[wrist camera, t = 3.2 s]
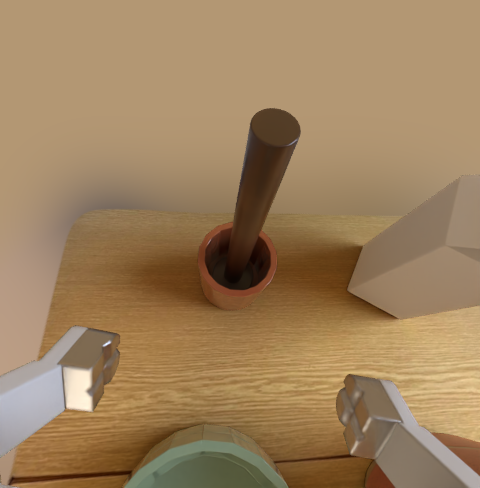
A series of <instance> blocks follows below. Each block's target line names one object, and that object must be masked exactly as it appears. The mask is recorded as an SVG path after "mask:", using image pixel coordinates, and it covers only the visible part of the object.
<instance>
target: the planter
mask: <svg viewBox="0 0 480 488" xmlns="http://www.w3.org/2000/svg"><path fill="white" fill-rule="evenodd" d="M431 434H432V435H433V436H435V437H436V438H437V439H438V440H439V441H440V442H441V443H443V444H444V445H445V446H446V447H447V448H448V449H449V450H451V451H452V452H453V453H454V454H455V455H456V456H457V457H459V458H460V459H461V460H462V461H463V462H464V463H465V464H467V465H468V466H469V467H470V468H471V469H472V470H473V471H475V472H476V473H477V474H478V475H479V476H480V442H476V441H472V440H469V439H465V438H462V437H458V436H454V435H449V434H443V433H431ZM365 488H395V487H394V485H393V484H392V483H391V481H390V480H389V479H388V477H387V476H386V475H385V473H384V472H383V471H382V469H381V468H380V467H379V465H378V464H377V463H376V460H374V461H373V462H372V463H371V465H370V466H369V468H368V470H367V473H366V482H365Z"/></svg>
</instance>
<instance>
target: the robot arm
mask: <svg viewBox="0 0 480 488" xmlns="http://www.w3.org/2000/svg"><path fill="white" fill-rule="evenodd" d="M119 343H120V335H119V334H117V333H113V332H108V331H103V330H98V329H93V328H86V327H81V326H76V325H75V326H73V327H71V328H70V329H69V330H68V331H67V332H66V333H65V334H64V335H63V336H62V337H61V338H60V339H59V340H58V341H57V342H56V344H55V345H54V346H53V347H52V348H51V349H50V350H49V351H48V352H47V353H46V354H45V355H44V356H43V357H42V358H41V359H40V360H39V361H32V362H30V363H27V364H25V365H23V366H21V367H19V368H17V369H14V370H12V371H10V372H8V373H5V374H3V375H1V376H0V458H1V457H3V456H4V455H5V454H7V453H8V452H9V451H11V450H12V449H13V448H15V447H16V446H17V445H19V444H20V443H22V442H23V441H24V440H26V439H27V438H28V437H30V436H31V435H32V434H34V433H35V432H36V431H38V430H39V429H40V428H42V427H43V426H44V425H46V424H47V423H48V422H50V421H51V420H53V419H54V418H55V417H57V416H58V415H59V414H61V413H62V412H63V411H65V409H72V410H80V411H87V412H93V411H94V409H95V408H96V406H97V404H98V403H99V401H100V399H101V397H102V396H103V394H104V385H106V384H107V383H109V382H110V381H111V380H112V378H113V376H114V375H115V372H116V370H117V367H118V364H119V359H120V352H119V351H118V349H117V347H118V345H119ZM344 384H345V387H344V388H343V389H341V390H340V391H339V393H338V395H337V400H336V409H337V415H338V418H339V420H340V422H341V423H342V424H343V425H344V426H345V427H346V428H345V430H344V433H343V434H344V437H345V440H346V444H347V447H348V450H349V453H350V455H354V456H359V457H364V458H369V459H374V460H376V463H377V464H378V465H379V467H380V468H381V469H382V471H383V472H384V473H385V475H386V476H387V477H388V479H389V480H390V481H391V483H392V484H393V485H394V487H395V488H480V476H479V475H478V474H477V473H476V472H475V471H473V470H472V469H471V468H470V467H469V466H468V465H467V464H465V463H464V462H463V461H462V460H461V459H460V458H459V457H457V456H456V455H455V454H454V453H453V452H452V451H451V450H449V449H448V448H447V447H446V446H445V445H444V444H443V443H441V442H440V441H439V440H438V439H437V438H436V437H435V436H433V435H432V434H431V433H430V432H429V431H428V430H427V429H425V428H424V427H421V426H419V425H418V423H417V421H416V420H415V418H414V416H413V415H412V413H411V411H410V409H409V408H408V406H407V404H406V403H405V401H404V399H403V398H402V396H401V394H400V392H399V391H398V389H397V387H396V386H395V384H394V383H393V382H392V381H389V380H382V379H375V378H370V377H364V376H358V375H352V374H349V375H347V376H346V378H345V380H344ZM0 488H21V487H15V486H8V485H1V476H0Z"/></svg>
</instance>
